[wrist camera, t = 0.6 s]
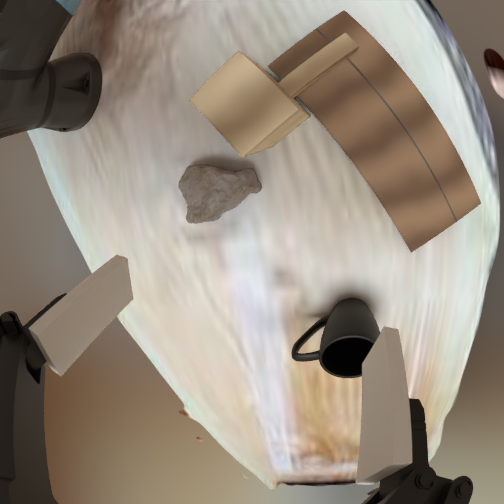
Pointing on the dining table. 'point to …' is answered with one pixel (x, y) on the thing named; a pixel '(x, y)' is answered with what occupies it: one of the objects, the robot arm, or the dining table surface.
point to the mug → (342, 339)
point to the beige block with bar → (263, 97)
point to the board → (386, 132)
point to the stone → (215, 191)
